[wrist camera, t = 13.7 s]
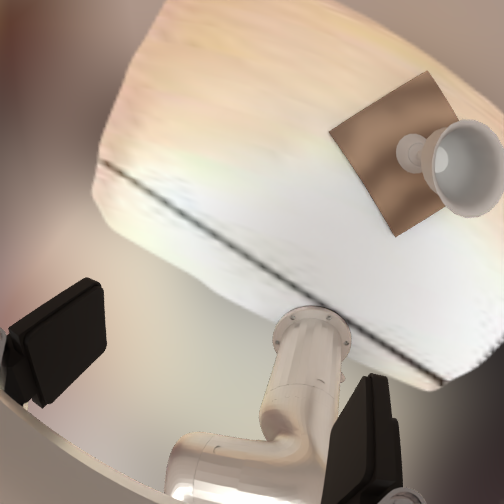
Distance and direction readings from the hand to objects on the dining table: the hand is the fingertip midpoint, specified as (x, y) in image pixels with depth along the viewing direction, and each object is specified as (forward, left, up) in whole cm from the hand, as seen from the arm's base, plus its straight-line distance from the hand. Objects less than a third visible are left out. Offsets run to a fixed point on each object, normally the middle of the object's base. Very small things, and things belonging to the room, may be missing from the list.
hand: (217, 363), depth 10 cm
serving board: (-3, -15, -35) cm, 38 cm away
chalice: (-3, -15, -33) cm, 36 cm away
